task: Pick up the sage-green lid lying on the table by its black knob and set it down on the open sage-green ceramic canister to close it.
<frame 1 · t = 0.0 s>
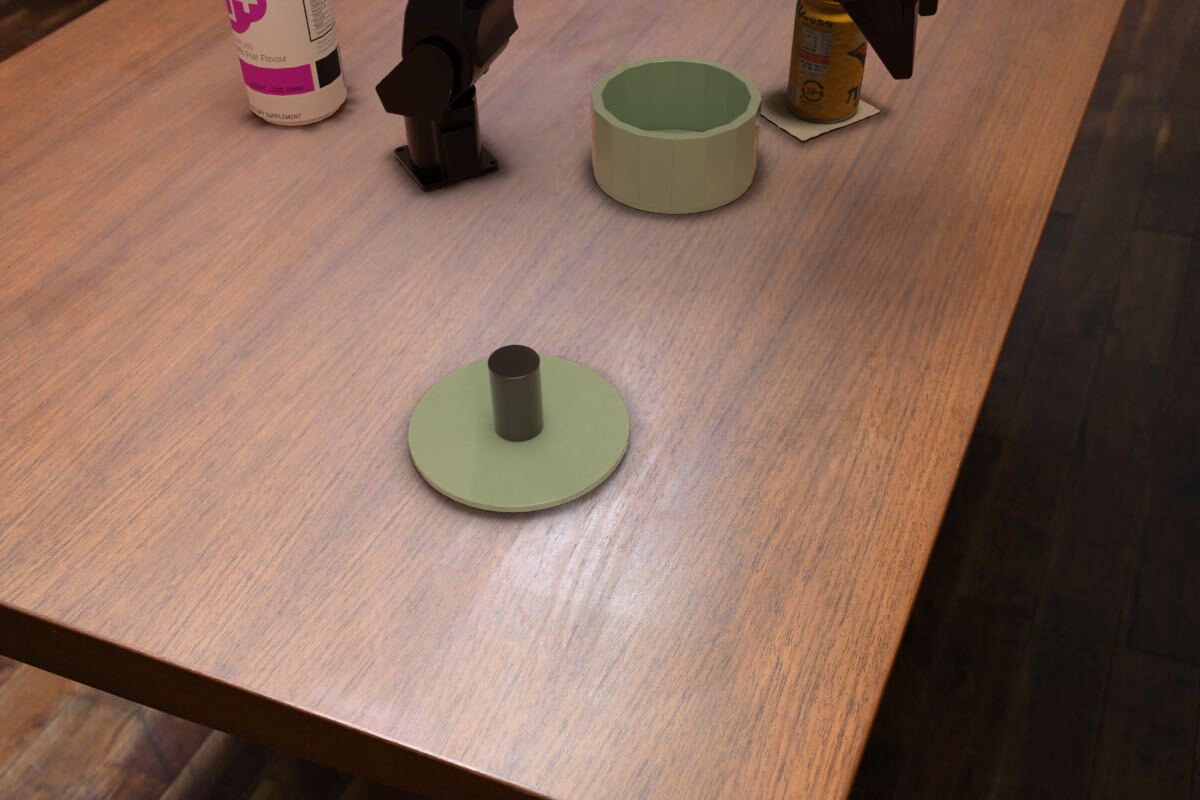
hand: (916, 45, 76), 15 cm above the table, tool pointing down, fingers open, 9 cm apart
supplement can: (300, 107, 104), on the table
yellow drink can: (812, 111, 102), on the table
lid: (519, 430, 73), point 1 cm above the table
canister: (673, 169, 95), on the table
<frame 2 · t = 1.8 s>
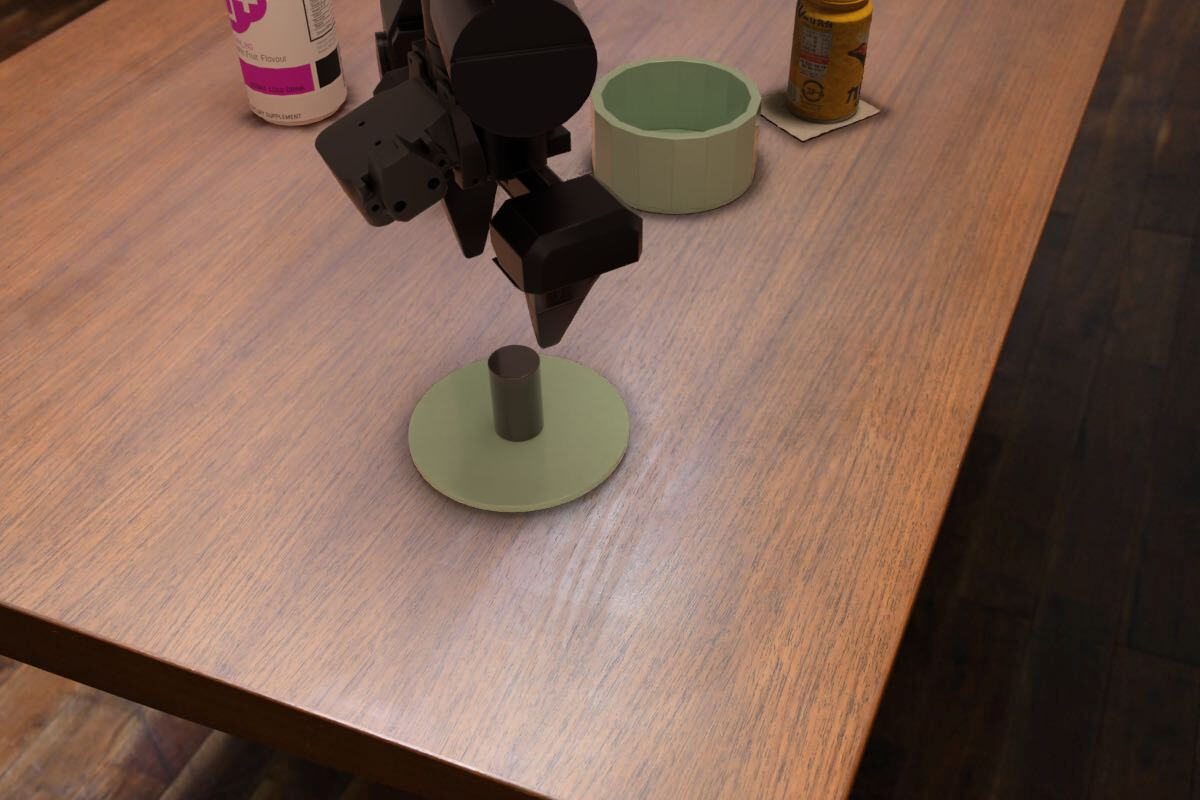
hand: (509, 298, 66), 11 cm above the table, tool pointing down, fingers open, 9 cm apart
nothing on the table moved.
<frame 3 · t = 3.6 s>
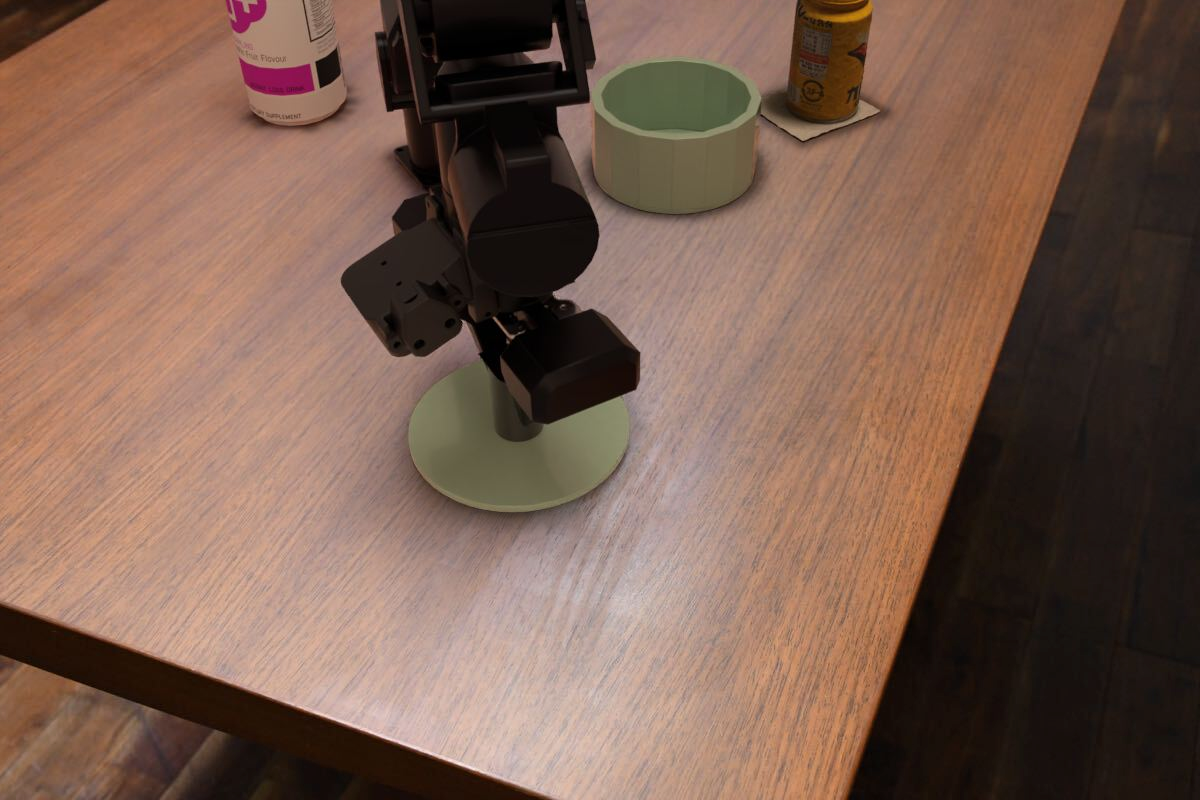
hand: (517, 405, 71), 3 cm above the table, tool pointing down, fingers closed on lid, 3 cm apart
lid: (519, 430, 73), point 1 cm above the table, touching gripper
everything else where it was.
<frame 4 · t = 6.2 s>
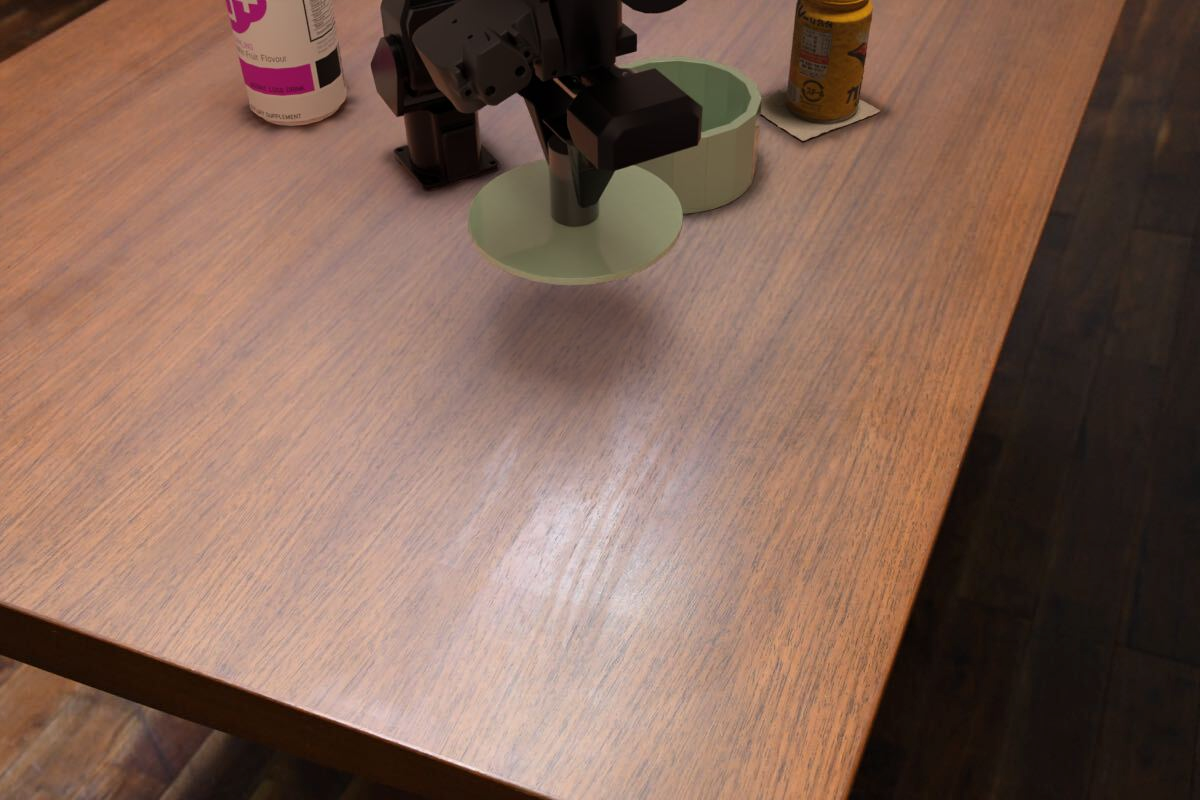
hand: (574, 191, 73), 11 cm above the table, tool pointing down, fingers closed on lid, 3 cm apart
lid: (575, 219, 75), point 9 cm above the table, touching gripper
everything else where it was.
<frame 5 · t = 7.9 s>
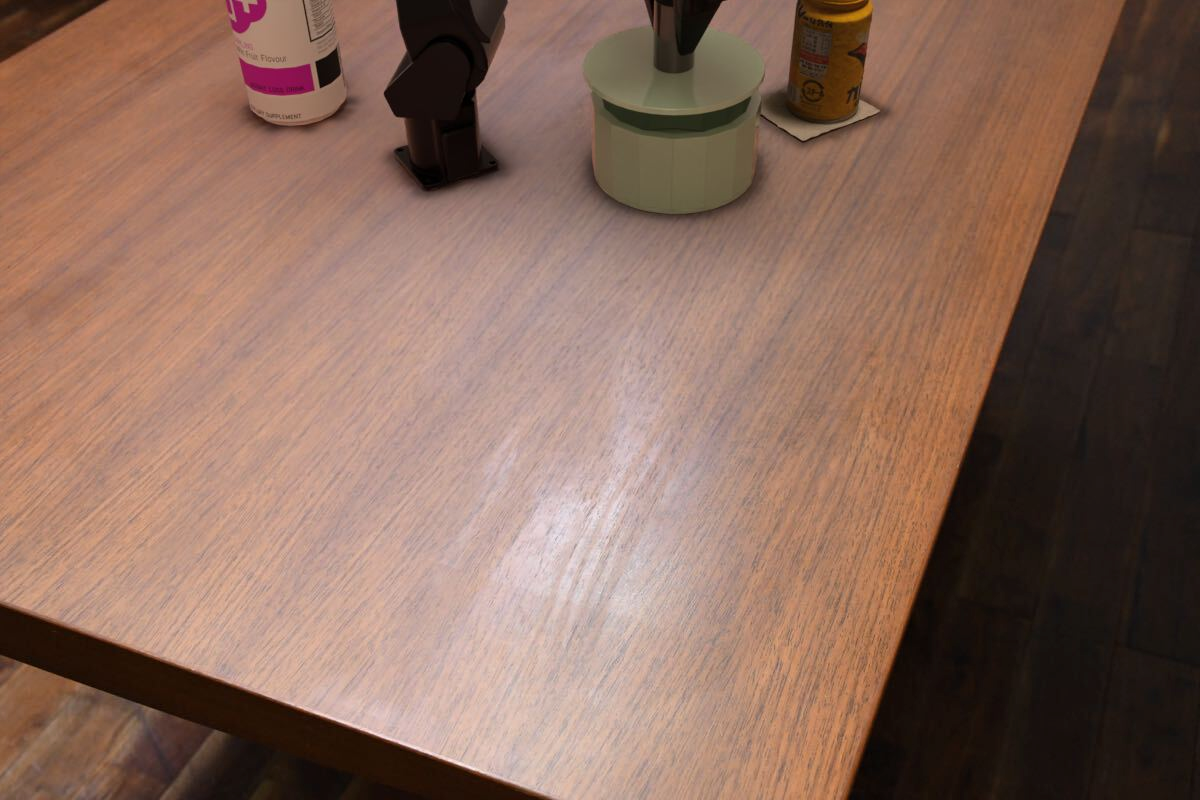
hand: (673, 44, 87), 11 cm above the table, tool pointing down, fingers closed on lid, 3 cm apart
lid: (673, 70, 88), point 9 cm above the table, touching gripper
everything else where it was.
when the fingers open (8 cm above the table, at t = 9.0 s): lid stays where it is, resting on canister.
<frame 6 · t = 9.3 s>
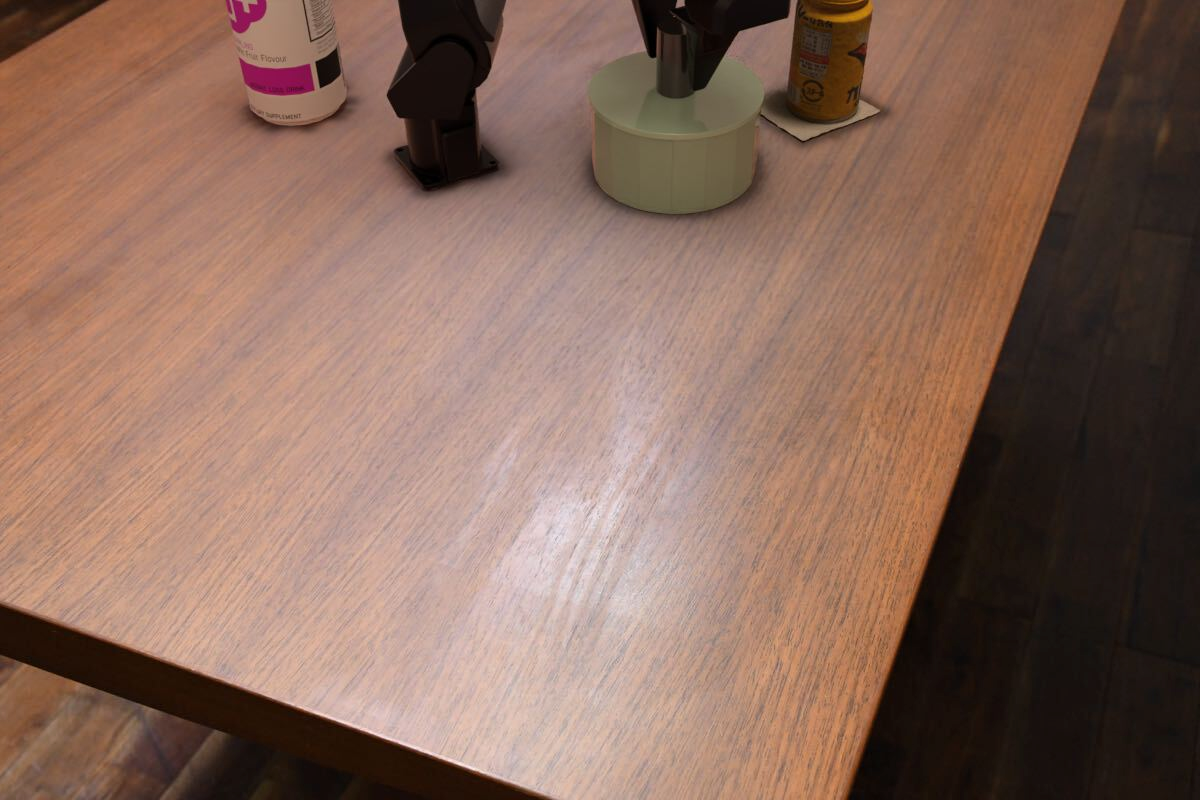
hand: (676, 72, 89), 8 cm above the table, tool pointing down, fingers open, 6 cm apart
lid: (675, 95, 91), point 6 cm above the table, touching canister
everything else where it was.
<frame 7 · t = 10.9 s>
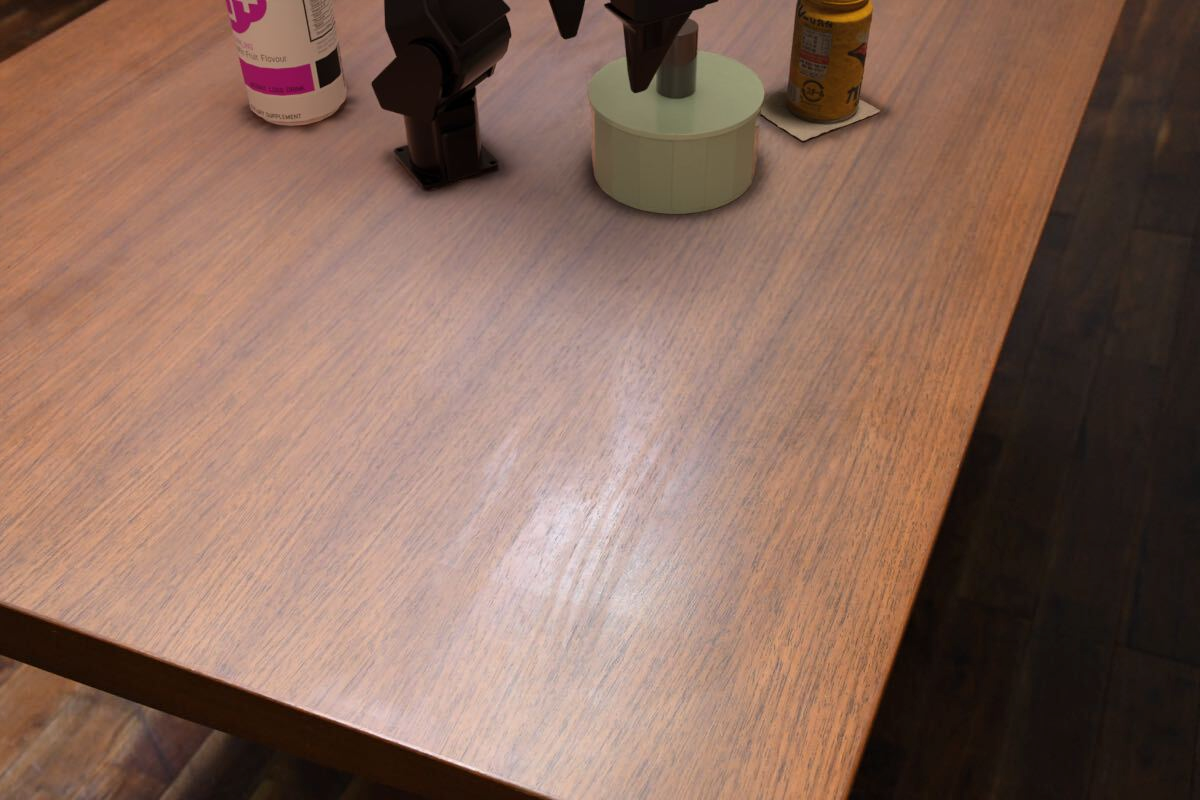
hand: (602, 63, 83), 12 cm above the table, tool pointing down, fingers open, 9 cm apart
nothing on the table moved.
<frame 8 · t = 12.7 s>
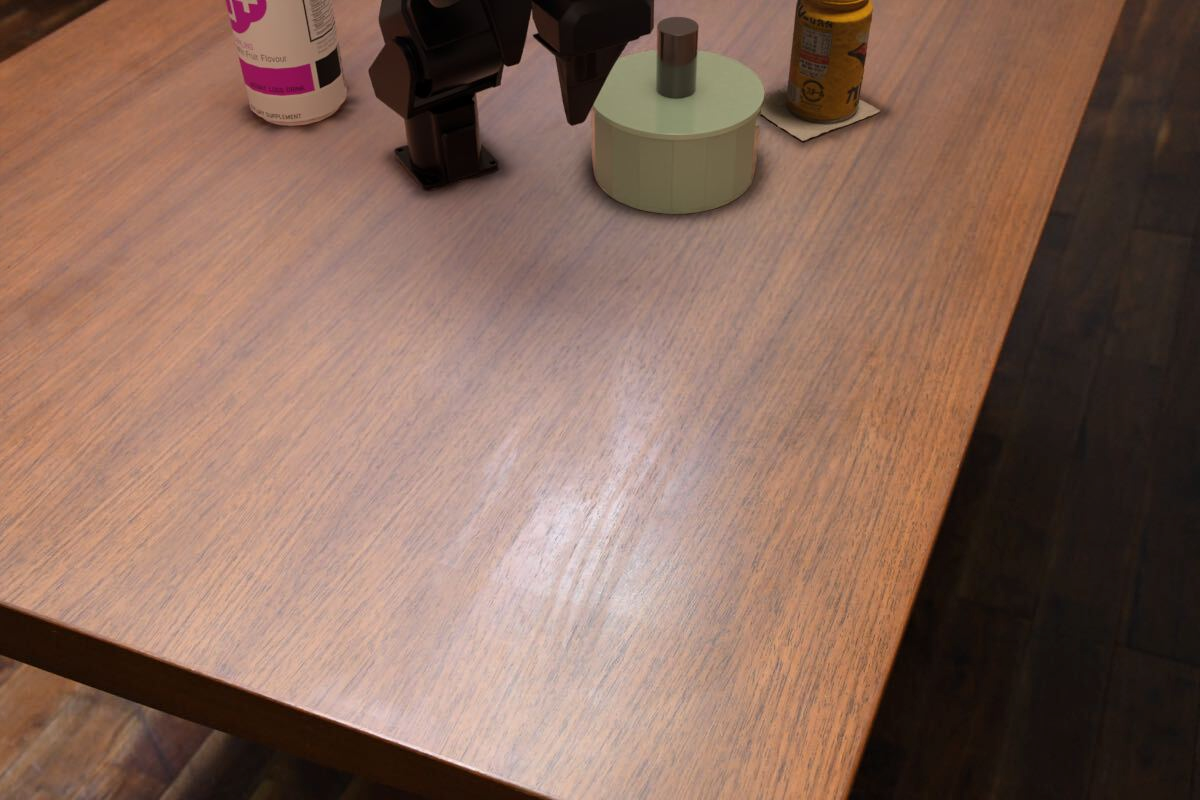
hand: (542, 92, 80), 12 cm above the table, tool pointing down, fingers open, 9 cm apart
nothing on the table moved.
at the end: lid 0.0 cm off-centre on the canister, point 6.4 cm above the canister's base; lid tilted 0° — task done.
